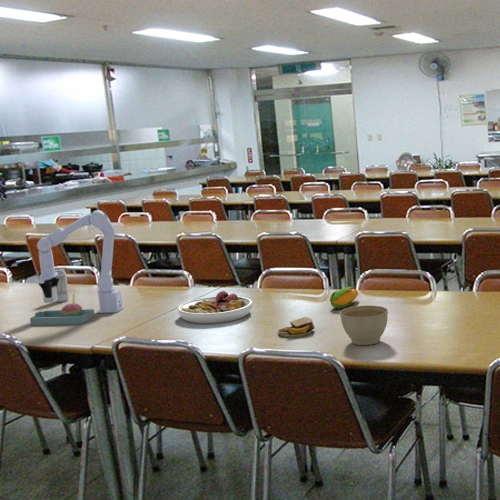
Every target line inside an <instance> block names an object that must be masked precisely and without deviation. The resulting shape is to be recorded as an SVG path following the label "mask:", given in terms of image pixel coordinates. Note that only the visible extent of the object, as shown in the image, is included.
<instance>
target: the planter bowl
mask: <svg viewBox="0 0 500 500" xmlns="http://www.w3.org/2000/svg"><path fill="white" fill-rule="evenodd" d="M388 313H389V310H388V308H387V307H385V306H380V305H356V306H351V307H345V308H342V310H340V312H339V315H340V321H341V325H342V328H343V329H344V331H345V333H346V335H347V337H348V338H349V339H350V340H351V343H352V344H354V345H357V346H370V345H375V344H377V343H379V342H380V341H381V337H382V336H383V334H384V332H385V331H386V328H387V324H388Z"/></svg>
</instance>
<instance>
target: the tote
mask: <svg viewBox="0 0 500 500" xmlns="http://www.w3.org/2000/svg"><path fill="white" fill-rule="evenodd" d="M92 318H95V309H93V308H88V309H83V308H82V311H81V313H80V316H75V317H66V316H65V315H64V314H62V309H55V310H53V309H52V310H51V309H50V310H42V311H40V310H39V311H37V312H35V313H34V316H31V317H30V318H29V321H30V325H31V326H50V325H51V326H52V325H56V326H57V325H58V326H59V325H83V324H84V323H86V322H87V321H89V320H90V319H92Z"/></svg>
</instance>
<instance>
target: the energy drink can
mask: <svg viewBox="0 0 500 500" xmlns="http://www.w3.org/2000/svg"><path fill="white" fill-rule="evenodd" d="M55 272H58V277H56V278H59V282H58V285H57V295H58V300H57V301H56V302H57V303H65V302H68V301H69V300H70V295H69V289H68V288H69V287H68V278H67V272H66V270H65V269H64V268H59V269H55Z"/></svg>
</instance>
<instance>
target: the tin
mask: <svg viewBox="0 0 500 500" xmlns="http://www.w3.org/2000/svg"><path fill="white" fill-rule="evenodd" d="M42 297H43V303H44V304H47V303H48V304H51V303H52V304H53V303H55V302H57V300H58V295H57V287H56V286H51V298H46V297H45V295H44V292H43V291H42Z"/></svg>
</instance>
